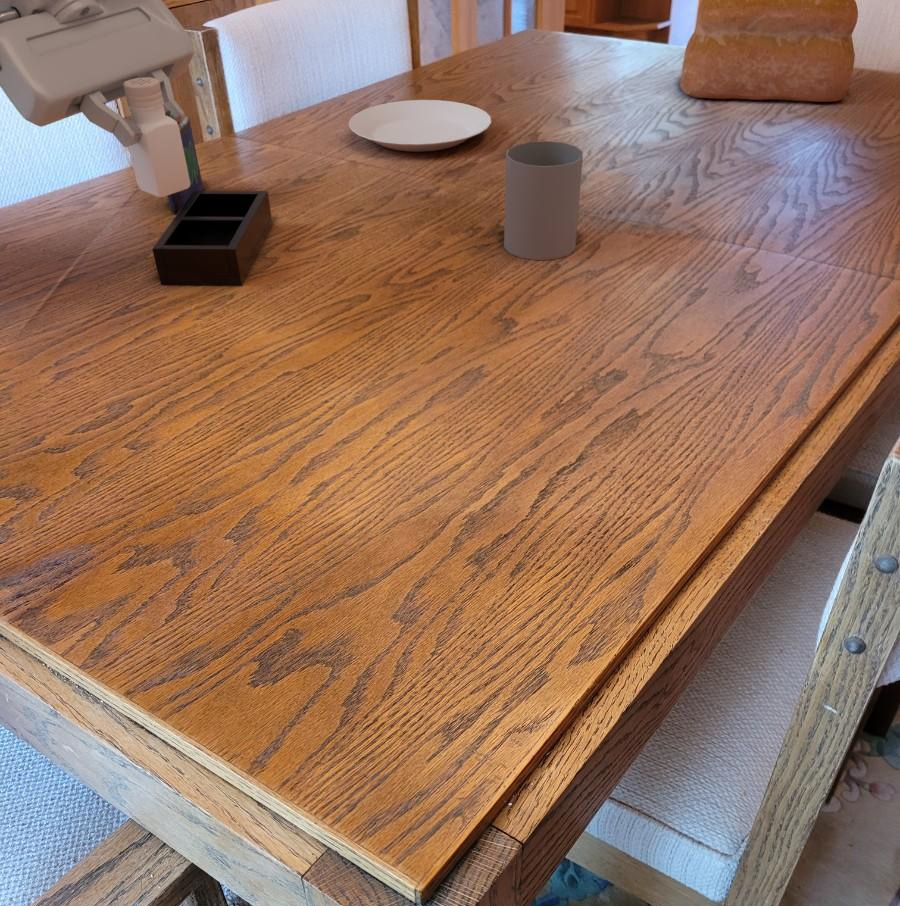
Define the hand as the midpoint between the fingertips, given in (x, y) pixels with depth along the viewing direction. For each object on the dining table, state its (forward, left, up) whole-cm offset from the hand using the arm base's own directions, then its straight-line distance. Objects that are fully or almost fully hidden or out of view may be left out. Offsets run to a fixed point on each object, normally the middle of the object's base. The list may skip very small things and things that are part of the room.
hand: (157, 132), depth 85 cm
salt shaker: (-1, 0, -6) cm, 6 cm away
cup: (+37, +14, -16) cm, 43 cm away
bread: (+74, +76, -16) cm, 108 cm away
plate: (+20, +53, -16) cm, 59 cm away
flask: (-8, +27, -16) cm, 33 cm away
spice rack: (0, +11, -16) cm, 20 cm away
